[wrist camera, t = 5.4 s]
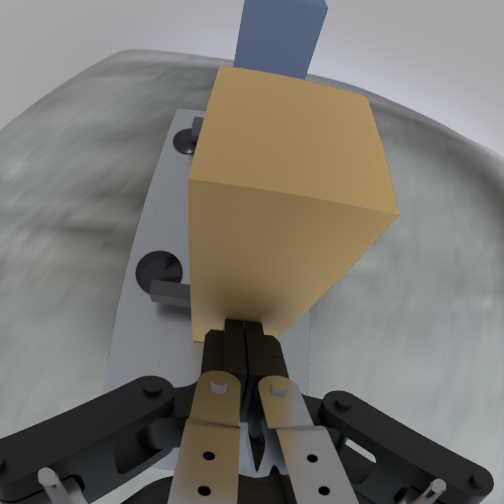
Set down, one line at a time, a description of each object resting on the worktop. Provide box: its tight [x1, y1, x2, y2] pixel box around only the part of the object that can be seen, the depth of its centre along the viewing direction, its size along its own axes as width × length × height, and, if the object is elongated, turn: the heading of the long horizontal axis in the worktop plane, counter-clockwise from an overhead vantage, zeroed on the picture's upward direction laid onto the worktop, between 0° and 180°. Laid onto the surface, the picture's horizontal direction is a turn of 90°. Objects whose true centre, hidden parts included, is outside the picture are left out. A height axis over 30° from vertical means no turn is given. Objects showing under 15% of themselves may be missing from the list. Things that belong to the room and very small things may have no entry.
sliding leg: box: [149, 66, 399, 342], centre depth 12 cm, size 4×6×13 cm, turn 86°
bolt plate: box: [103, 108, 310, 477], centre depth 20 cm, size 26×11×1 cm, turn 176°
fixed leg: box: [192, 0, 328, 136], centre depth 18 cm, size 4×6×13 cm, turn 86°
